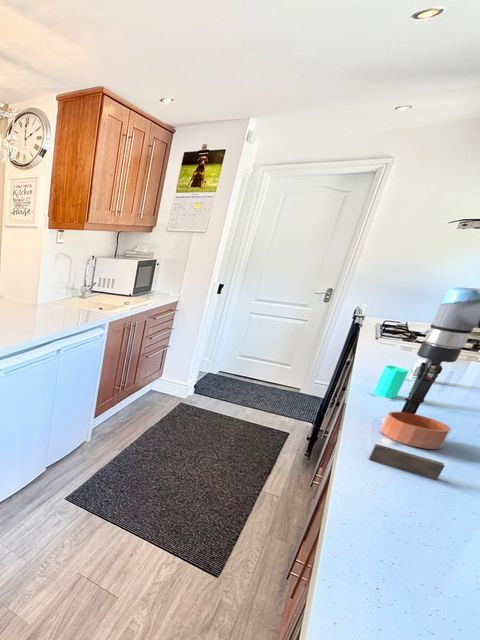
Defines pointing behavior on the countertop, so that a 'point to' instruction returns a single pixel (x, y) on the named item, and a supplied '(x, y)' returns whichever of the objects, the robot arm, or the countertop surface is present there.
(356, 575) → the countertop surface
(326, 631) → the countertop surface
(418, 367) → the pill bottle
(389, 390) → the candle
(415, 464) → the bar
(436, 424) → the bowl
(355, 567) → the countertop surface
